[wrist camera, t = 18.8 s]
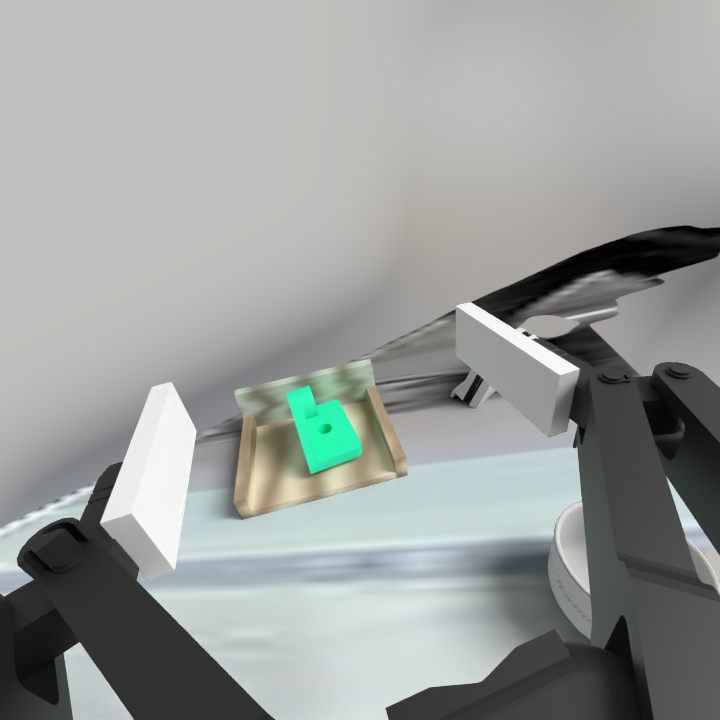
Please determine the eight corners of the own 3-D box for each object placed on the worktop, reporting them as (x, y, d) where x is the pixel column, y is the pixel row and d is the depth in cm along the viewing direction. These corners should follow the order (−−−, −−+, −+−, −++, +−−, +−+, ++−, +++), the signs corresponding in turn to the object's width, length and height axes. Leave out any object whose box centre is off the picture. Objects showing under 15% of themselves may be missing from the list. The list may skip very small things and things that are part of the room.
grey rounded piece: (501, 354, 69) (522, 313, 62) (523, 368, 67) (548, 328, 59) (448, 397, 60) (466, 355, 53) (471, 415, 58) (493, 374, 51)
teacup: (536, 538, 38) (545, 489, 34) (657, 556, 35) (684, 504, 31) (560, 710, 27) (579, 668, 23) (742, 760, 24) (802, 721, 20)
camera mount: (365, 459, 50) (354, 401, 44) (312, 479, 48) (294, 422, 43) (340, 410, 60) (328, 358, 54) (296, 425, 58) (279, 373, 53)
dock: (242, 519, 46) (220, 477, 41) (250, 427, 61) (235, 390, 57) (407, 475, 48) (402, 430, 44) (375, 397, 63) (369, 359, 59)
